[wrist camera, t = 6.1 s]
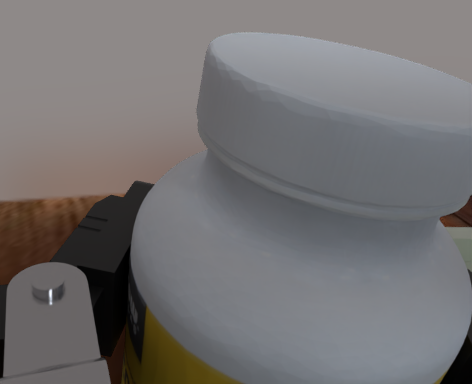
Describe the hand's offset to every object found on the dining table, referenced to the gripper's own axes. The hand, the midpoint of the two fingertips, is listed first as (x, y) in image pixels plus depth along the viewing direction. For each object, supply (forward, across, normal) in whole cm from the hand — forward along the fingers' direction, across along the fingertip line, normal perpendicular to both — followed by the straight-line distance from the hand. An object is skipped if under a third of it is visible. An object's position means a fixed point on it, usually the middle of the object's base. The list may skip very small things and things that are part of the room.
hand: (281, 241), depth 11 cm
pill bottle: (-2, 0, +7) cm, 7 cm away
